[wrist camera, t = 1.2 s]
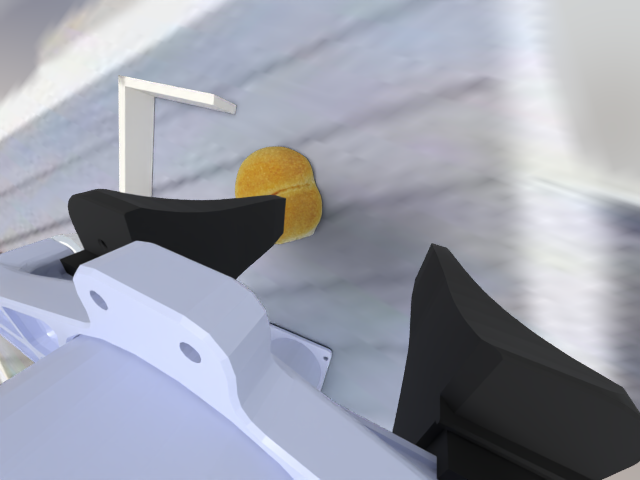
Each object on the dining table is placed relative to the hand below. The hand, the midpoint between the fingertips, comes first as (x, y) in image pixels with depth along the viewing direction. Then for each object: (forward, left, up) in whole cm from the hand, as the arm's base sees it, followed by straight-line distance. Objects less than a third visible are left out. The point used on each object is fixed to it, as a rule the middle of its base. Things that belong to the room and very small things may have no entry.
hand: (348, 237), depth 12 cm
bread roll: (-1, +8, -11) cm, 14 cm away
